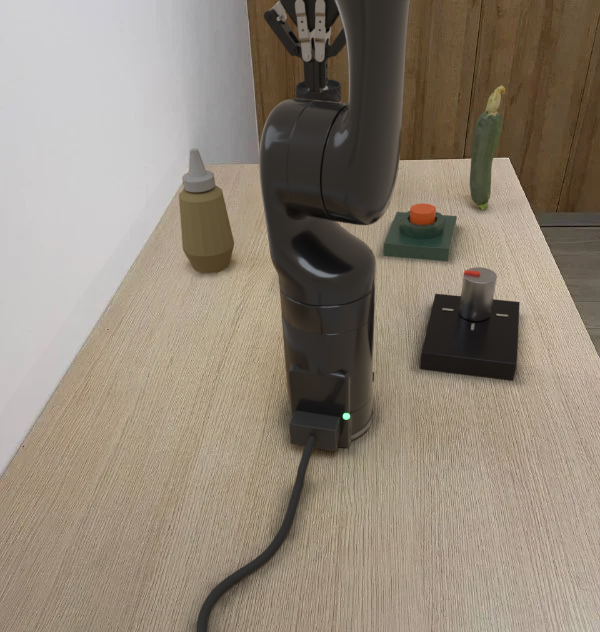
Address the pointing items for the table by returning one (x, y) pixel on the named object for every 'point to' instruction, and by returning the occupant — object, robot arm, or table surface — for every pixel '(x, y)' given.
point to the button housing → (420, 238)
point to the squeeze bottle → (204, 219)
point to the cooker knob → (477, 293)
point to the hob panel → (471, 340)
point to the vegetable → (485, 149)
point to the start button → (422, 214)
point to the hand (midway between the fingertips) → (316, 91)
